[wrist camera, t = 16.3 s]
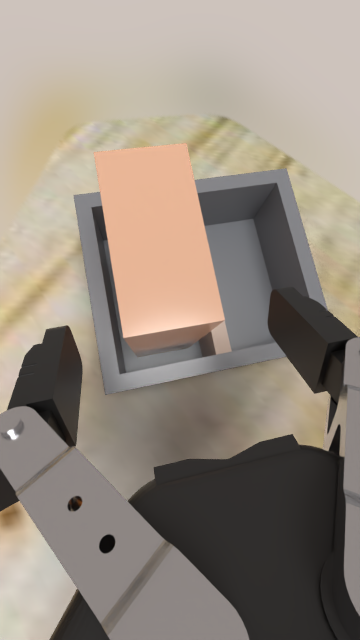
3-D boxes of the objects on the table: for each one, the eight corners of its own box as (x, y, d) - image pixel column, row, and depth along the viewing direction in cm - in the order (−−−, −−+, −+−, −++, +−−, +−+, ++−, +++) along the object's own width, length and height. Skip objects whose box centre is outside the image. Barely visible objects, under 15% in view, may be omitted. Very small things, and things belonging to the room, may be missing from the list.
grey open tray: (257, 212, 27) (286, 168, 22) (294, 352, 25) (338, 345, 19) (91, 236, 26) (73, 195, 20) (116, 390, 23) (105, 394, 18)
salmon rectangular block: (169, 253, 25) (186, 143, 13) (188, 348, 24) (225, 320, 12) (121, 260, 24) (93, 152, 13) (137, 357, 23) (123, 338, 11)
